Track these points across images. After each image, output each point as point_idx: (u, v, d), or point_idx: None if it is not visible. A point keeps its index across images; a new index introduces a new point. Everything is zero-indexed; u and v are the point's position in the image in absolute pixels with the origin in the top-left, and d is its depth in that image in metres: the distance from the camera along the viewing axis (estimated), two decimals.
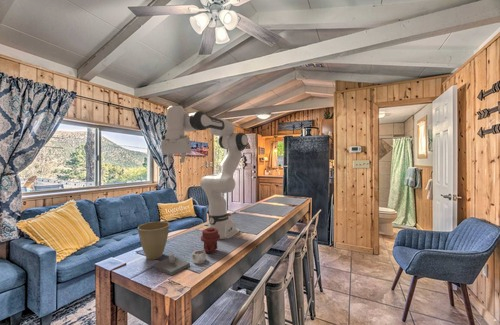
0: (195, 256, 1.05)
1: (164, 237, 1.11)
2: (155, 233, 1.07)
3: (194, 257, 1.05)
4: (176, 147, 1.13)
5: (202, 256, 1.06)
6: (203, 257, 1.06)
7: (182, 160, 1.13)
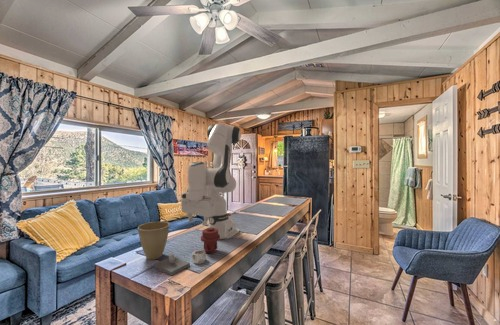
0: (195, 256, 1.05)
1: (164, 237, 1.11)
2: (155, 233, 1.07)
3: (194, 257, 1.05)
4: (198, 209, 1.04)
5: (202, 256, 1.06)
6: (203, 257, 1.06)
7: (205, 223, 1.04)
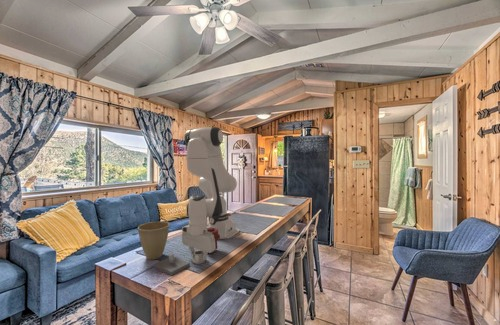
0: (195, 256, 1.05)
1: (164, 237, 1.11)
2: (155, 233, 1.07)
3: (194, 257, 1.05)
4: (199, 243, 1.05)
5: None
6: None
7: (204, 257, 1.05)
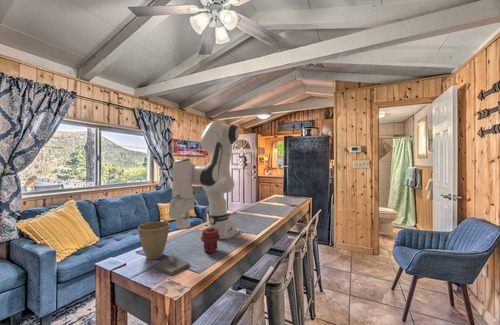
0: None
1: (164, 237, 1.11)
2: (155, 233, 1.07)
3: None
4: None
5: None
6: None
7: (177, 223, 0.99)
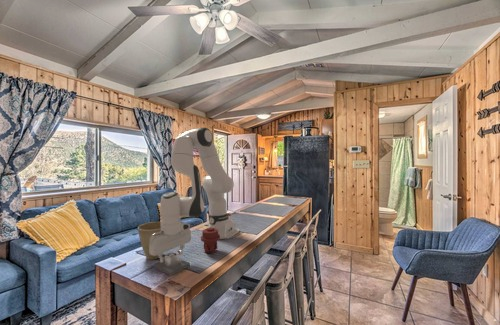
0: None
1: None
2: None
3: None
4: None
5: (165, 259, 1.00)
6: (166, 261, 1.00)
7: (160, 259, 0.98)
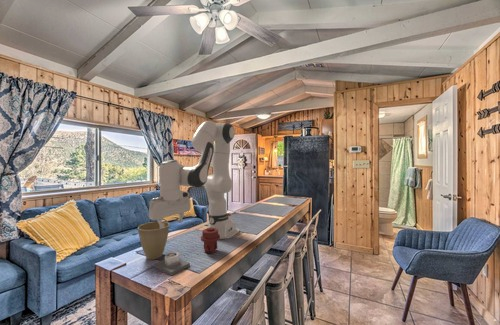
0: None
1: (164, 237, 1.11)
2: (155, 233, 1.07)
3: None
4: None
5: (165, 259, 1.00)
6: (166, 261, 1.00)
7: (160, 225, 0.98)
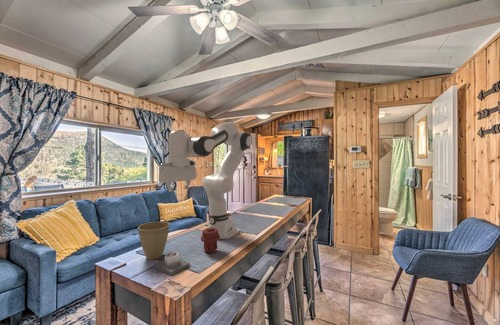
0: None
1: (164, 237, 1.11)
2: (155, 233, 1.07)
3: None
4: None
5: (165, 259, 1.00)
6: (166, 261, 1.00)
7: (169, 189, 1.06)
